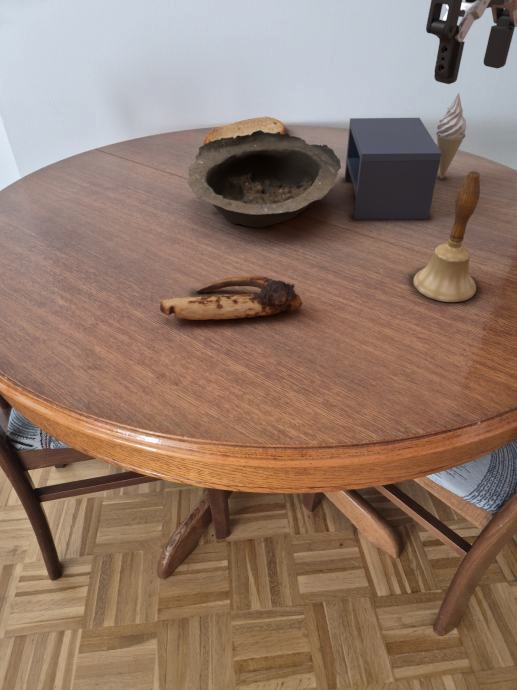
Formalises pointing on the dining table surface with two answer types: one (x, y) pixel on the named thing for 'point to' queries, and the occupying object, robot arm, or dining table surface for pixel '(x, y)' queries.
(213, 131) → the bread slice
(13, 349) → the dining table surface
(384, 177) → the shelf
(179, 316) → the lashed bone hook
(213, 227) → the dining table surface
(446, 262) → the hand bell
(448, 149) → the ice cream cone
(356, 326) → the dining table surface
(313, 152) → the stone bowl
